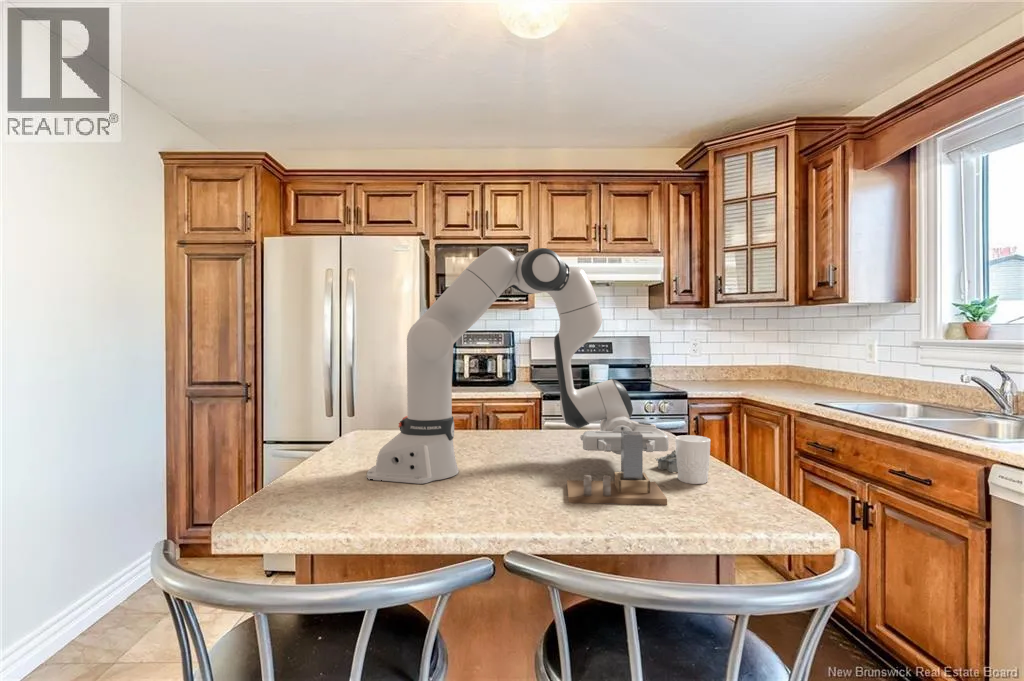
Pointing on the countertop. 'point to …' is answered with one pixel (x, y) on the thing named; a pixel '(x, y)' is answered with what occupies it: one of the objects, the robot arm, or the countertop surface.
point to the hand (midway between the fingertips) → (628, 448)
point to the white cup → (692, 458)
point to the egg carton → (668, 462)
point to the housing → (615, 491)
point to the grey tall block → (631, 455)
